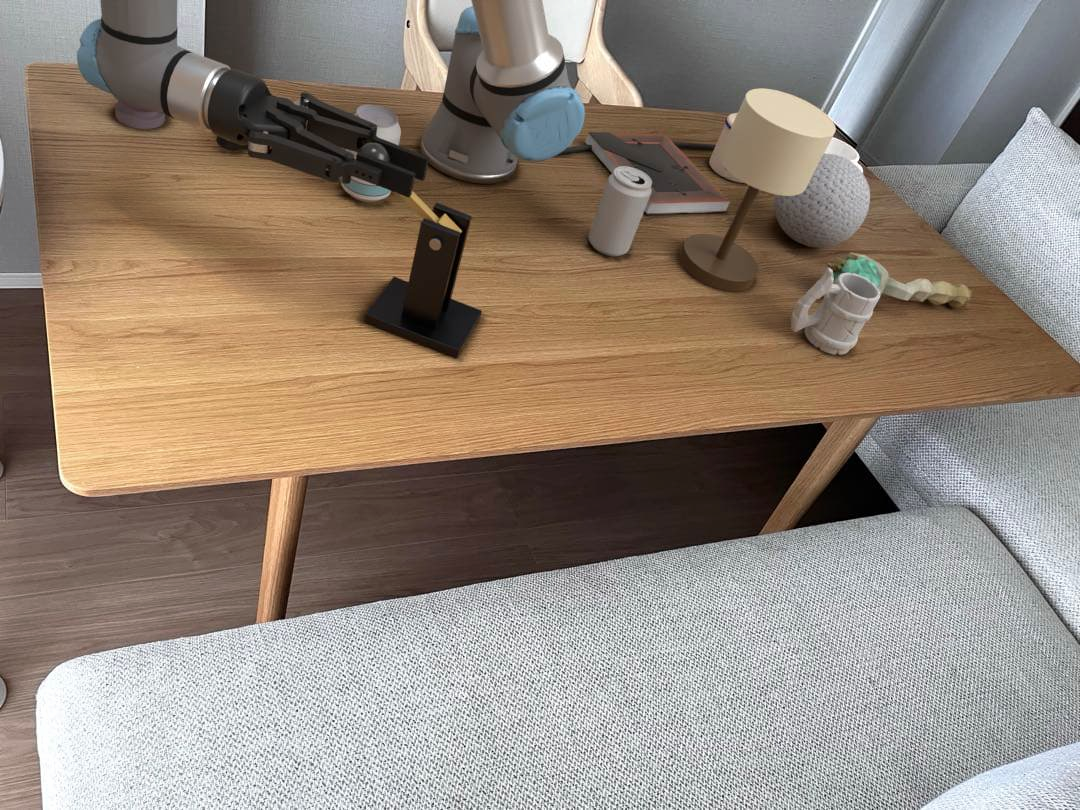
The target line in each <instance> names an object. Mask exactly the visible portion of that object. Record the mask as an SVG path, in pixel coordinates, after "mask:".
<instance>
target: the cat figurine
mask: <svg viewBox="0 0 1080 810" xmlns="http://www.w3.org/2000/svg"><path fill="white" fill-rule="evenodd" d="M112 97H113V98H114V99H115V100H116V103H115V105H114V111H115V112H114V113H115V118H116V120H118V122H119V123H121V124H123V125H124V126H127V127H129V128H134V129H139V130H140V129H141V130H150V129H151V130H152V129H155V128H158V127H161V126H162V125H164V124H165V122H166V115H164V114H162V113H159V112H156V111H154V110H151V109H148V108H145V107H143V106H140V105H137V104H134V103H131V102H128V101H123V100H120V99H117V98H115V97H114V96H113V95H112Z"/></svg>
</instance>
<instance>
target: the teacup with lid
mask: <svg viewBox="0 0 1080 810" xmlns="http://www.w3.org/2000/svg"><path fill="white" fill-rule="evenodd" d="M737 114H738V112H733V113H731V114H729V115H728V116H727V117H726V118H725V121H724V126H723V128H722V130H721V133H720V135H719V137H718V140H717V142H716V144H715V145H716V146H715V149H713V151H712V153H711V155H710V158H709V161H708V163H709V166H710V168H711V170H712V171H714V172H715V174H717V175H719V176H720V177H722V178H724V179H726V180H728V181H731V182H734V183H741V184H745V183H744V182H742V181H741V180H739V179H738V178H736V177H735V176H734V175H732V174H731V173H730V172H729V171H728V170H727V169H726V168H725V167H724V165H723V164H722V162H721V160H720V152H721V150H722V148H723V145H724V143H725V141H726V139H727V136H728V134H729V132H730V129H731V127H732V125H733V123H734V120H735V118H736V116H737Z"/></svg>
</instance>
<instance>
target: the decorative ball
mask: <svg viewBox="0 0 1080 810" xmlns="http://www.w3.org/2000/svg"><path fill="white" fill-rule="evenodd" d="M773 201H774V202H773V209H774V214H775V217H776V220H777V222H778V224H779V226H780V228H781V229H782V230H783V232H784V233H785V234H786V235H787V236H788V237H789V238H790V239H792V240H793V241H794V242H796V243H798V244H801V245H803V246H805V247H810V248H828V247H833V246H835V245H838V244H841V243H843V242H844V241H846V240H848V239H849V238H851V237H852V236H853V235H854V234H855V233H856V232H857V231H858V230H859V229H860V228H861V226H862V225H863V223H864V221H865V219H866V217H867V215H868V212H869V208H870V205H871V190H870V186H869V182H868V181H867V178H866V176H865V175H864V172H863V173H862V172H861V170H860V169H859V168H858V167H857V166H856V165H855V164H854V163H852V162H851V161H849V160H848V159H846V158H843V157H841V156H838V155H833V154H823V156H822V158H821V160H820V162H819V164H818V166H817V168H816V170H815V172H814V174H813V175H812V177H811V179H810V181H809V183H808V185H807V187H806V189H805V190H804V192H802V193H801V194H799V195H794V196H782V195H776V194H774V200H773Z"/></svg>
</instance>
